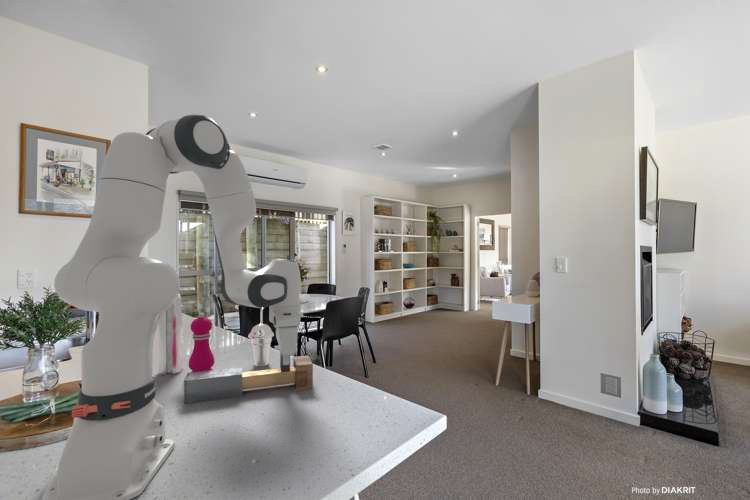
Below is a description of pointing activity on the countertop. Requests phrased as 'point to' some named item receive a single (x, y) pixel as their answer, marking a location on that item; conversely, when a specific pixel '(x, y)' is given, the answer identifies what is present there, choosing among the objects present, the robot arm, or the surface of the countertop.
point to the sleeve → (212, 385)
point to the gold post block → (269, 377)
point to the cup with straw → (261, 342)
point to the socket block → (303, 372)
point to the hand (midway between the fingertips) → (285, 361)
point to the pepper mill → (201, 345)
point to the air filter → (171, 339)
